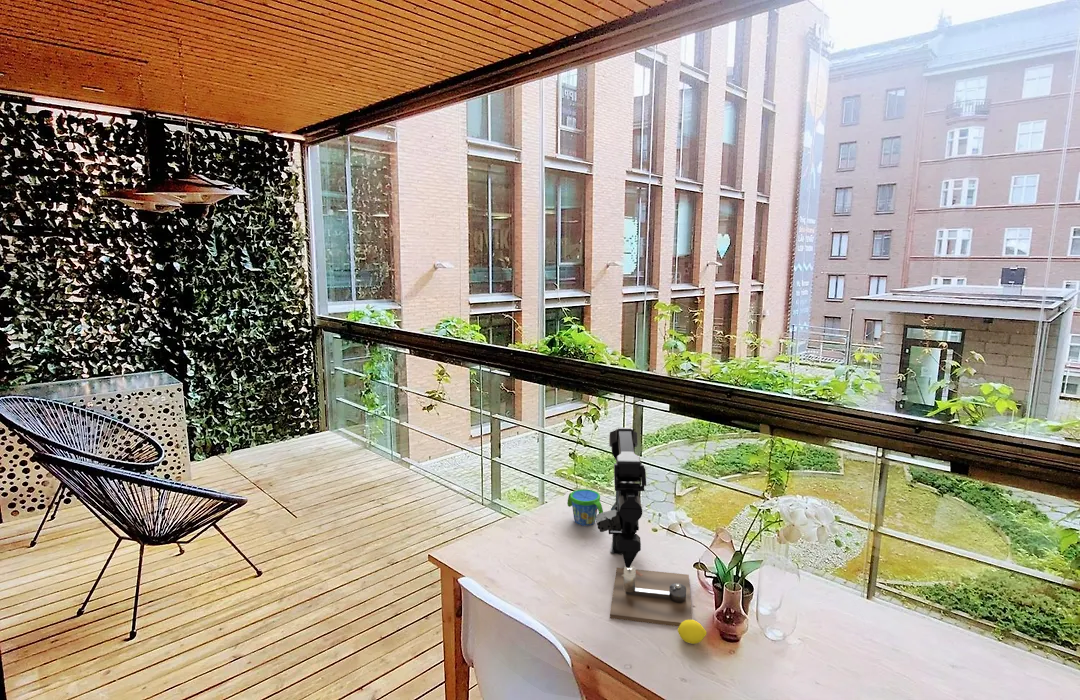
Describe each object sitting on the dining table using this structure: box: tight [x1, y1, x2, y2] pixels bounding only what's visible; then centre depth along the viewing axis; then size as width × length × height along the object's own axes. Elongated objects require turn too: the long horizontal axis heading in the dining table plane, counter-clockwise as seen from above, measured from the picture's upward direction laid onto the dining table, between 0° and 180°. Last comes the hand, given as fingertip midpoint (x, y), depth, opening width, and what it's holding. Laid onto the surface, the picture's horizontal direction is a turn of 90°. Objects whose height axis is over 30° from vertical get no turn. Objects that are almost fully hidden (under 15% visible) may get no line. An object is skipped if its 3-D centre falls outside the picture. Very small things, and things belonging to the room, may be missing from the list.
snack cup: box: [566, 488, 604, 527], centre depth 202 cm, size 16×10×10 cm
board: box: [609, 567, 693, 628], centre depth 158 cm, size 23×21×1 cm
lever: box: [623, 565, 686, 603], centre depth 155 cm, size 17×4×7 cm, turn 78°
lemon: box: [677, 619, 708, 645], centre depth 139 cm, size 7×5×5 cm
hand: (627, 557), depth 156 cm, fingers open, 9 cm apart
